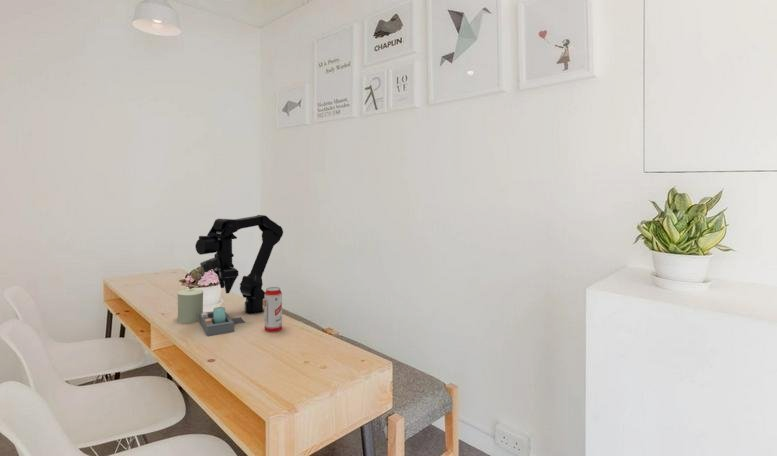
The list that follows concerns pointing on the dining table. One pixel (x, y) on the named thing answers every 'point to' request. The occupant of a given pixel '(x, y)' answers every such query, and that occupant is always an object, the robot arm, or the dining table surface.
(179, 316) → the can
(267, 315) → the beer can
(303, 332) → the dining table surface
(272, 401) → the dining table surface
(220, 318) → the plug
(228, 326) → the dock
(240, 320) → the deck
